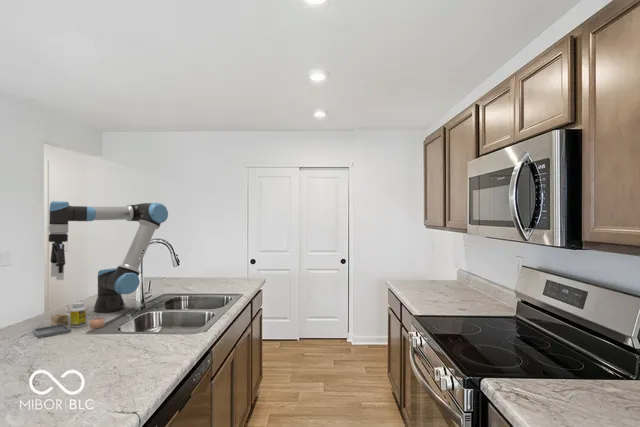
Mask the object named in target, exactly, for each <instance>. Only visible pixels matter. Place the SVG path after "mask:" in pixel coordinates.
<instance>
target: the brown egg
mask: <svg viewBox="0 0 640 427" xmlns="http://www.w3.org/2000/svg"><path fill="white" fill-rule="evenodd" d="M105 320H106V319H105V318H104V317H96V318H92V319H90V320H89V328H90V329H91V330H96V328H97V329H101V328H104V327H105Z"/></svg>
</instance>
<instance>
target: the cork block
mask: <svg viewBox="0 0 640 427" xmlns="http://www.w3.org/2000/svg"><path fill="white" fill-rule="evenodd" d="M60 324H65V325H66V326H69V314H66V313H59V314H54V315H51V316H50V326H54V325H60Z"/></svg>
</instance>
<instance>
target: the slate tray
mask: <svg viewBox="0 0 640 427" xmlns="http://www.w3.org/2000/svg"><path fill="white" fill-rule="evenodd" d="M68 332H70V333H71V332H72V329H71V328H70V326H69V325H65V324H60V325H54V326H51V325H50V326H44V327H43V326H42V327H38V328H32V333H33V334H34V336H35V337H36V338H37V339H42V337H43V338H48V336H49V337H53V335H54V336H58V334H59V335H63V333H65V334H69V333H68Z"/></svg>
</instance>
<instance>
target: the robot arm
mask: <svg viewBox="0 0 640 427" xmlns="http://www.w3.org/2000/svg"><path fill="white" fill-rule="evenodd" d="M48 211H49V212H48V213H49V216H48V217H49V218H48V219H49V221H48V226H47V229H48V232H49V234H48V242H50V243H52V244H51V245H52V246H51V252H50V278H53V277H55V278H56V281H60V280H61V281H63V280H64V279H65V278H64V277H65V265H66V254H65V244H63V243H65V242H68V238H69V235H68V233H69V222H93V221H116V220H117V221H118V220H119V221H121V220H125V221H127V222H138V223H139V225H138V228H137V230H136V233H135V235H134V236H133V239H132V242H131V244H130V245H129V248H128V250H127V253H126V254H125V257H124V260H123V261H122V264H119V265H118V266H117V267H115V268H104V269H99V270H98V272H97V298H96V300H95V303H94V306H93V312H94V313H113V312H117V311H122V310H124V309H125V307H126V306H125V305H126V304H125V301H124V299H123V296H122V295H130V294H132V293H134V292H136V290H137V289H138V288H139V286H140V281H141V280H140V278H139V275H140V273H141V272H140V270H139V268H140V267H141V264H142V261H143V259H144V256H145V255H146V252H147V250H148V248H149V245H150V243H151V240H152V238H153V237H154V234H155V231H156V230H158V229H159V228H160V226H161V224H163V223H164V222H166V221H167V220H168V217H169V212H168V209H167V207H166V206H165V205H164V204H163V203H160V202H143V203H138V204H137V203H136V204H127V205H125V206H87V205H86V206H85V205H81V206H80V205H79V206H78V205H70V203H69V201H62V200H60V201H59V200H52V201H51V202H50V204H49V210H48ZM143 250H144V251H143ZM142 253H143V254H142ZM139 258H140V259H139Z"/></svg>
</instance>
